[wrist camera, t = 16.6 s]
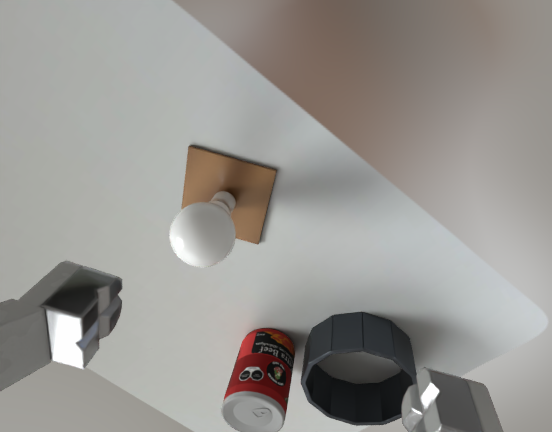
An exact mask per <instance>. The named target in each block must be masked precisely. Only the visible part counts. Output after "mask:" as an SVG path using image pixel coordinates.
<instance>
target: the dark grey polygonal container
mask: <svg viewBox="0 0 552 432" xmlns="http://www.w3.org/2000/svg"><path fill="white" fill-rule="evenodd" d="M362 351H363V352H367V353H370V354H374V355H377V356H380V357H384V358H387V359H391V360H393V361H394V362H395V363H396V364H397V365H399V366H400V367H401V368H402V370H401V371H400V373H399V374H397V375H395V376H393V377H391V378H389V379H386V380H384V381H382V382H380V383H369V384H352V383H349V382H346V381H342V380H339V379H336V378H332V377H331V376H330V375H328V374H327V373H326V372H325V371H324V370H322V369H321V368H320V367H319V366H317V365H316V363H318V362H320V361H322V360H323V359H325V358H327V357H329V356H330V355H332V354H337V353H349V352H362ZM416 375H417V373H416V368H415V362H414V357H413V352H412V347H411V342H410V338H409V336H407V335H406V334H405V333H404V332H403V331H402V330H401V329H400V328H399V327H397V326H396V325H395V324H394V323H393V322H392V321H390V320H388V319H384V318H381V317H378V316H374V315H371V314H367V313H364V312H357V313H348V314H338V315H334V316H331V317H329V318H328V319H326V320H325V321H323V322H321V323H320V324H318V325H317V326H315V327H313V329H312V330H311V333H310V336H309V338H308V341H307V343H306V346H305V353H304V361H303V368H302V376H301V385H302V387H303V390H304V392H305V395H306V397H307V400H308V401H309V403H310V404H312V405H313V406H314V407H316V408H317V409H318V410H319V411H321V412H322V413H323V414H325V415H326V416H327V417H329V418H332V419H336V420H339V421H342V422H345V423H349V424H352V425H384V424H387V423H390V422H392V421H395V420H397V419H399V418H402V415H401V409H402V401H403V397H404V394H405V392H406V391H407V389H408V387H409V386H411V385H414V384H416V383H417V378H416Z"/></svg>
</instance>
